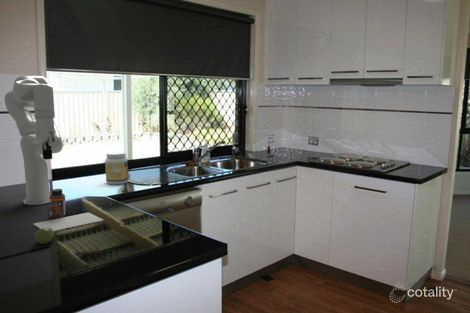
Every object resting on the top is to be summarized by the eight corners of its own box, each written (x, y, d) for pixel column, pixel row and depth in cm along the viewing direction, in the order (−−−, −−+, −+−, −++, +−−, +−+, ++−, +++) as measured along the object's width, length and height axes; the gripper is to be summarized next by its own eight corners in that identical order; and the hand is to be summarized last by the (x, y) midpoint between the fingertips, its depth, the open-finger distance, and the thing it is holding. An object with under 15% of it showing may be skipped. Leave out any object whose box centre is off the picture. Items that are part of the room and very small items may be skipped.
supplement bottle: (49, 219, 166) (47, 191, 165) (51, 215, 172) (49, 188, 170) (65, 218, 168) (63, 190, 166) (67, 214, 174) (65, 187, 172)
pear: (32, 230, 136) (40, 225, 146) (33, 246, 136) (40, 240, 146) (50, 228, 137) (57, 224, 147) (51, 244, 137) (57, 239, 147)
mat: (33, 224, 160) (33, 223, 160) (88, 213, 175) (88, 212, 175) (46, 233, 150) (46, 232, 150) (103, 220, 164) (103, 219, 164)
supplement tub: (129, 183, 231) (128, 154, 229) (107, 185, 227) (105, 155, 224) (127, 179, 243) (125, 151, 240) (105, 181, 238) (103, 152, 236)
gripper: (28, 114, 172) (32, 157, 175) (41, 115, 162) (44, 162, 164) (47, 113, 177) (50, 156, 180) (61, 115, 167) (63, 160, 169)
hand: (47, 158), depth 172 cm, fingers closed
